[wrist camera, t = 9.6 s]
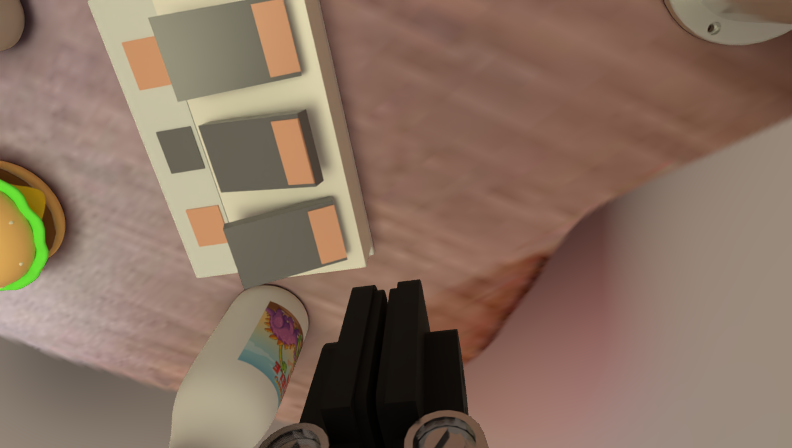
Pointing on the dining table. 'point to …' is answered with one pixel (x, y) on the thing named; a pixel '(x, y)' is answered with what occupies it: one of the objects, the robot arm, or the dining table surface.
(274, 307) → the milk bottle
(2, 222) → the hamburger
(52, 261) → the dining table surface
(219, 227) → the switch board
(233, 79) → the switch
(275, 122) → the switch middle
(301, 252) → the switch
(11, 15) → the plastic bottle
